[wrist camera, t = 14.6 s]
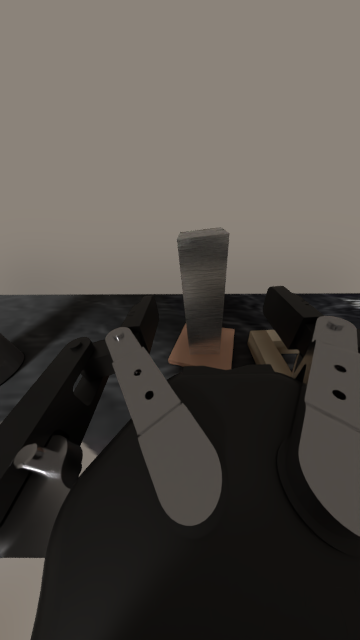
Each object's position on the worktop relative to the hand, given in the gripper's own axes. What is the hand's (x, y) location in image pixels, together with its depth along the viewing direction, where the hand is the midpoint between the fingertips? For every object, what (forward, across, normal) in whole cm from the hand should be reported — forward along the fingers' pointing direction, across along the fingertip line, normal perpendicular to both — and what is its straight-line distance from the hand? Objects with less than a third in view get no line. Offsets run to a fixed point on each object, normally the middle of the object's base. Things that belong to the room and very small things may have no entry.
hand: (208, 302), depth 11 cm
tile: (+6, 0, +11) cm, 12 cm away
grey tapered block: (+6, 0, +10) cm, 12 cm away
